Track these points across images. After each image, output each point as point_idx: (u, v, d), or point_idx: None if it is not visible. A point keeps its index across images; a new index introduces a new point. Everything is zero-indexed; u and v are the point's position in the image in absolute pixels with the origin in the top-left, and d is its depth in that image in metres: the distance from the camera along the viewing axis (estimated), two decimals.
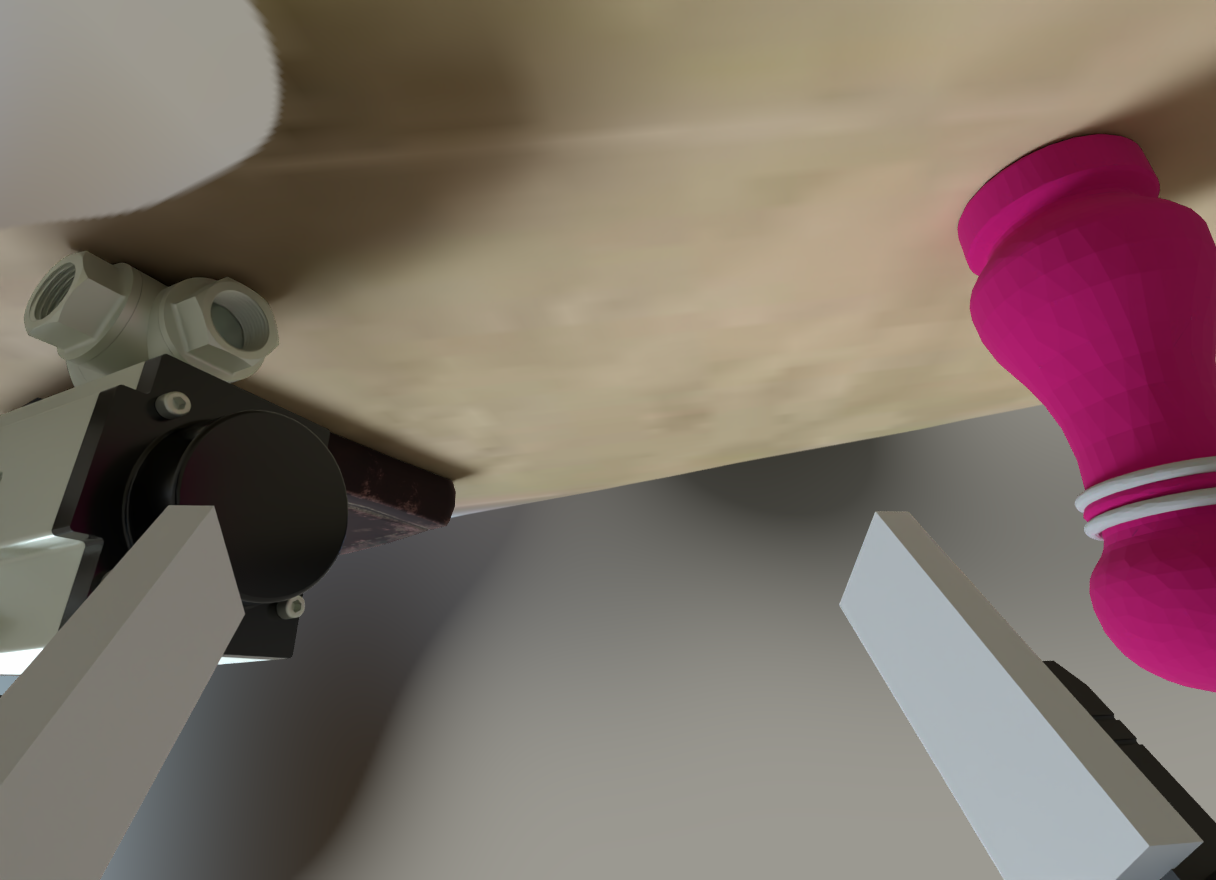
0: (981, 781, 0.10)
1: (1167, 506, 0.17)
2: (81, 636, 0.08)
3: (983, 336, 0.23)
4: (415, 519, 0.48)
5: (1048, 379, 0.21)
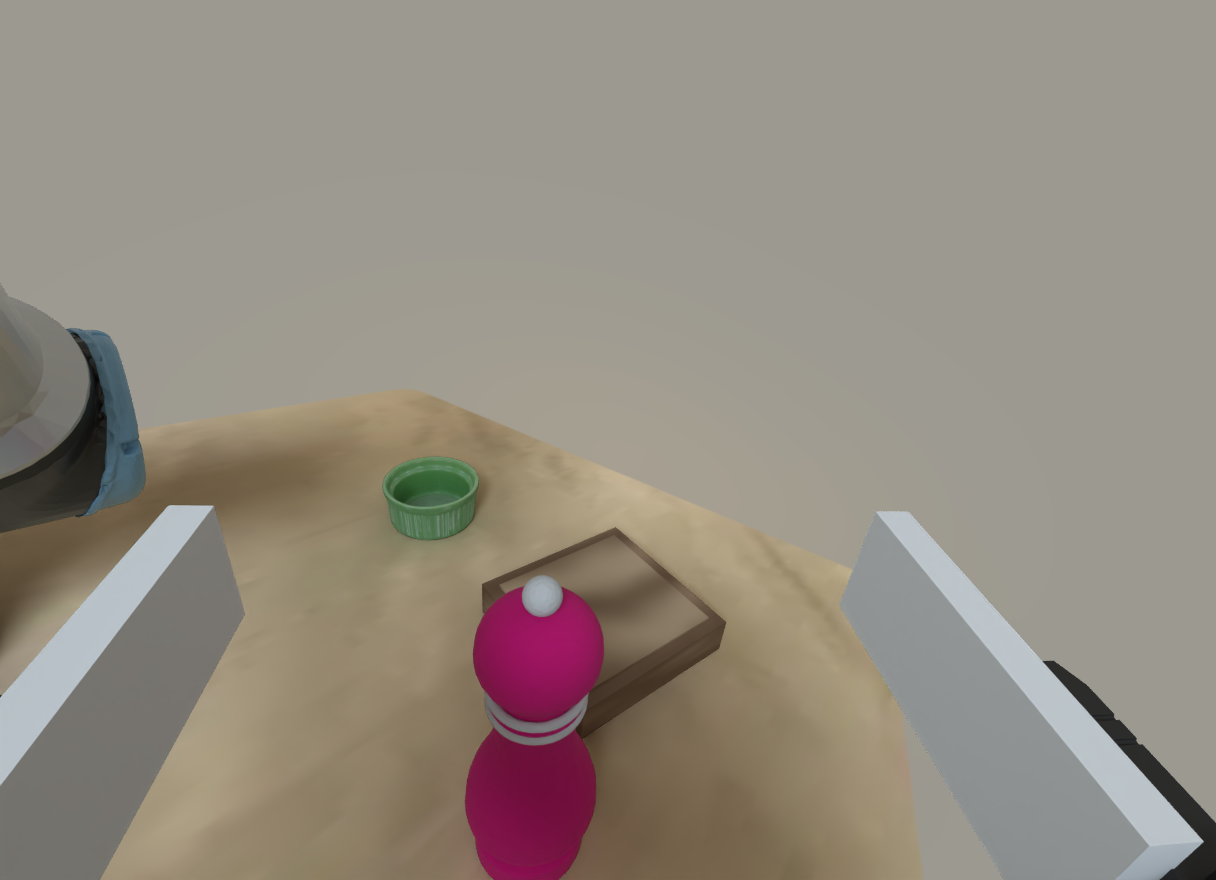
0: (981, 781, 0.10)
1: None
2: (81, 636, 0.08)
3: (505, 844, 0.30)
4: None
5: (498, 782, 0.30)
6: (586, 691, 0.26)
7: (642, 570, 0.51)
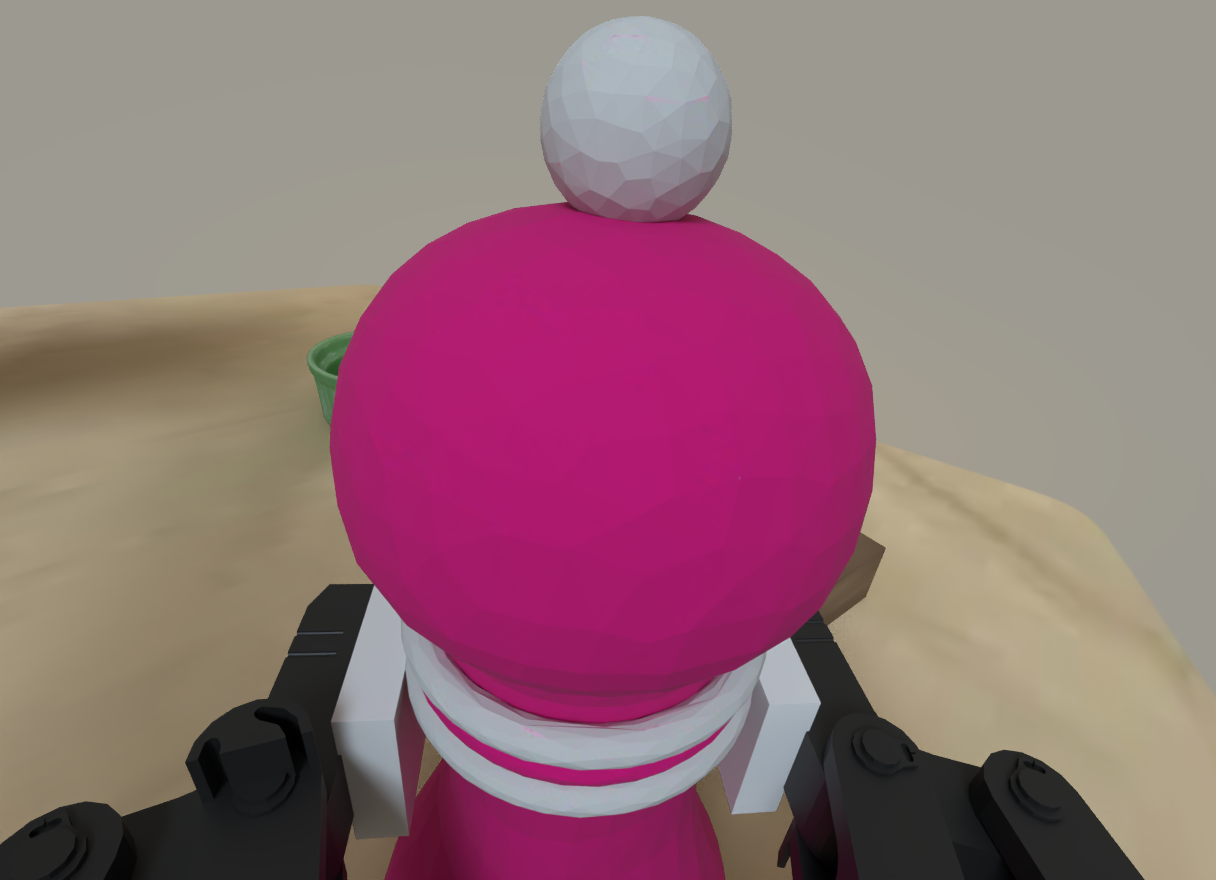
0: None
1: None
2: None
3: None
4: None
5: None
6: (834, 582, 0.06)
7: None
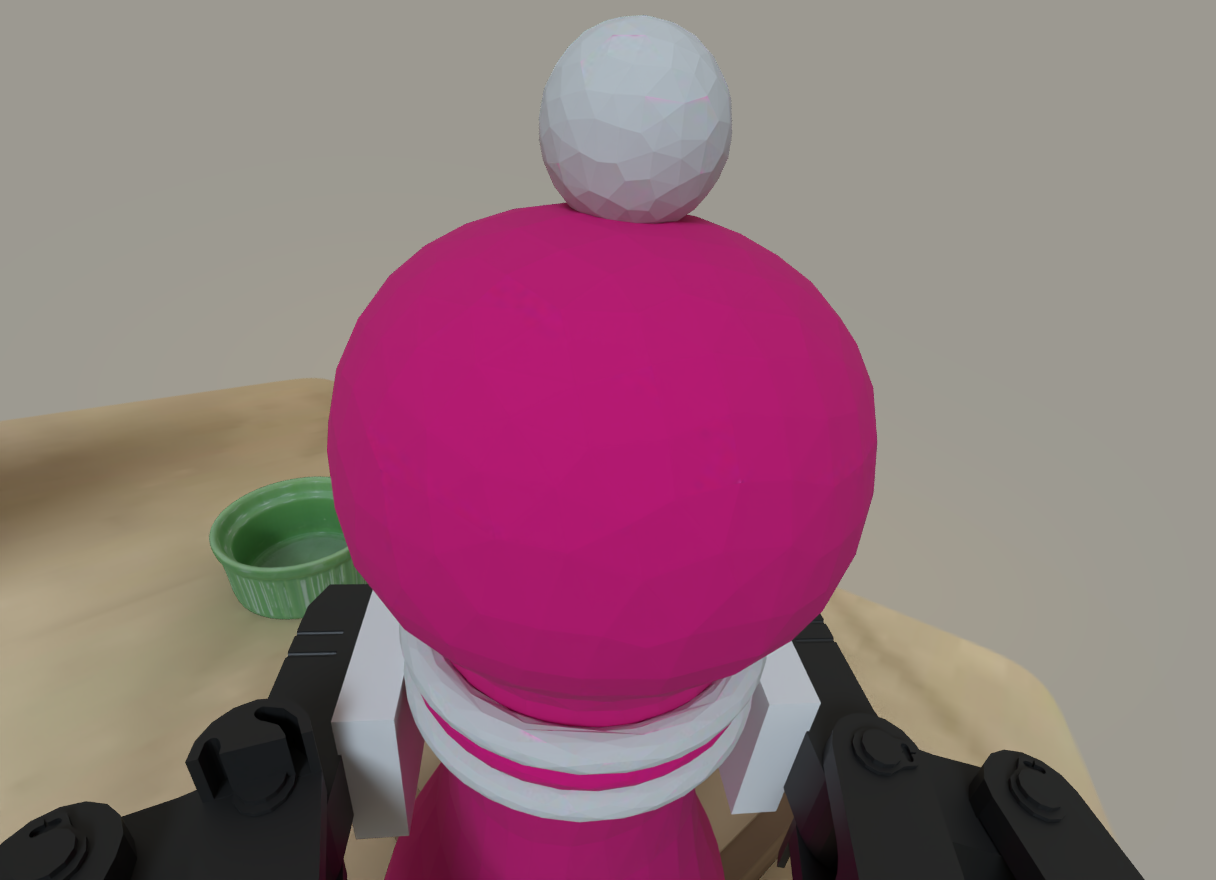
0: None
1: None
2: None
3: None
4: None
5: None
6: (834, 585, 0.06)
7: None
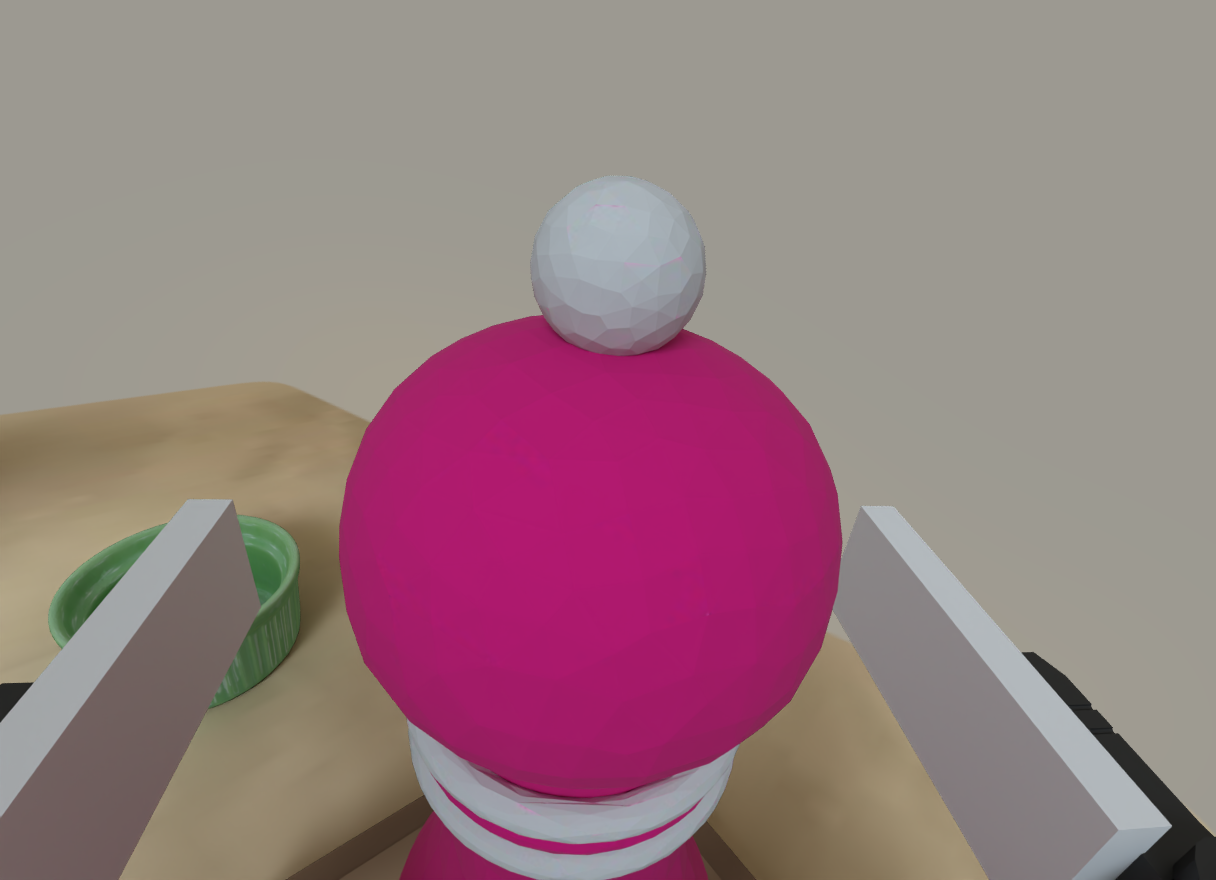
0: (961, 770, 0.10)
1: None
2: (108, 625, 0.08)
3: None
4: None
5: None
6: (801, 679, 0.06)
7: None
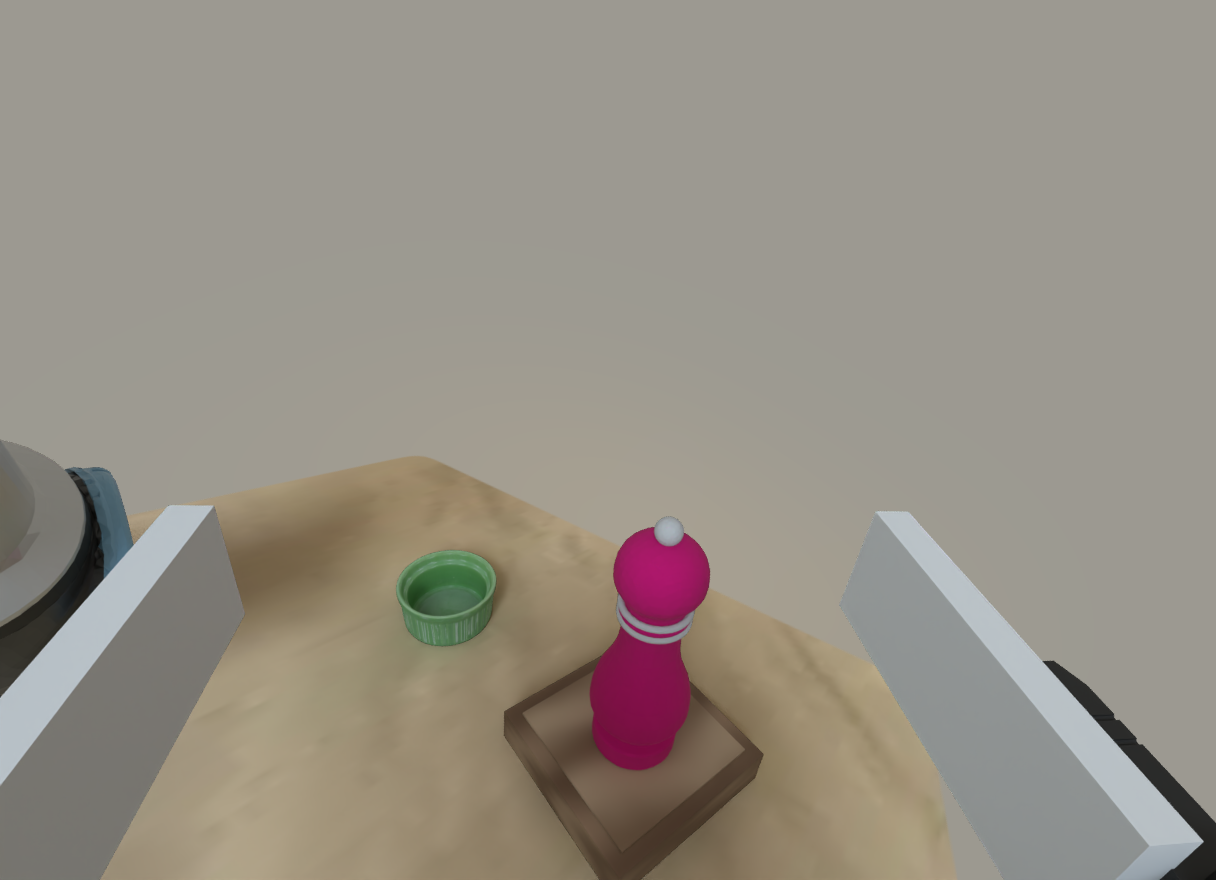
0: (981, 780, 0.10)
1: (618, 601, 0.38)
2: (81, 636, 0.08)
3: (629, 725, 0.40)
4: None
5: (624, 678, 0.39)
6: (700, 601, 0.36)
7: None
